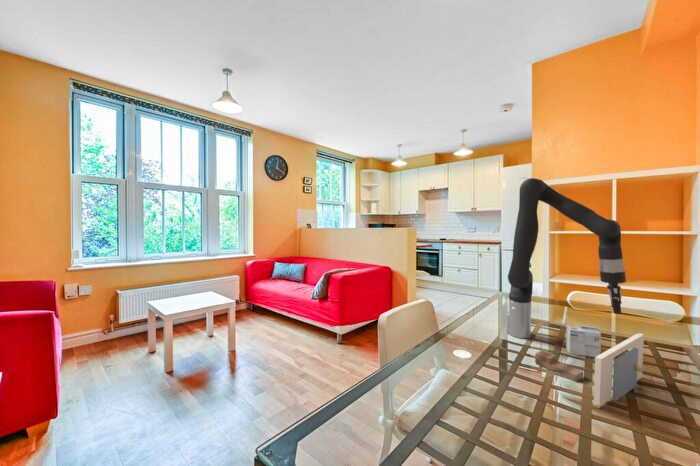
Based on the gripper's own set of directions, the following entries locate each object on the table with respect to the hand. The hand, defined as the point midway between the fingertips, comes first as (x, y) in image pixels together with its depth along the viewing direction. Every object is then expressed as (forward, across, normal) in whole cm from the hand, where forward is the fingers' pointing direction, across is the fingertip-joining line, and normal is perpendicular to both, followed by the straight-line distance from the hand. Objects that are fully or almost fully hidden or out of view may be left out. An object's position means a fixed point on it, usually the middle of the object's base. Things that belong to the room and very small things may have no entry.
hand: (616, 310), depth 115 cm
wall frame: (+20, +25, -3) cm, 32 cm away
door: (+20, +26, -1) cm, 33 cm away
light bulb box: (+19, 0, -12) cm, 23 cm away
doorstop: (+19, +22, -20) cm, 35 cm away
